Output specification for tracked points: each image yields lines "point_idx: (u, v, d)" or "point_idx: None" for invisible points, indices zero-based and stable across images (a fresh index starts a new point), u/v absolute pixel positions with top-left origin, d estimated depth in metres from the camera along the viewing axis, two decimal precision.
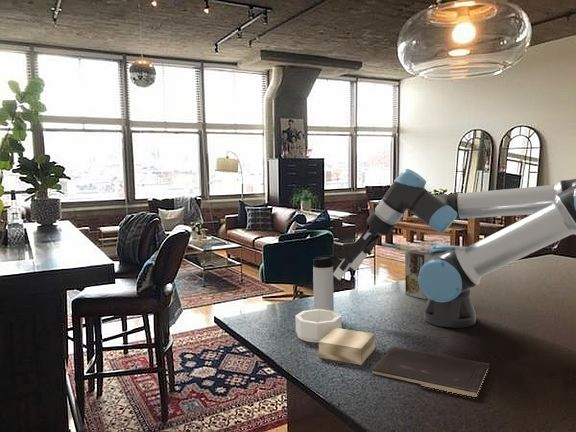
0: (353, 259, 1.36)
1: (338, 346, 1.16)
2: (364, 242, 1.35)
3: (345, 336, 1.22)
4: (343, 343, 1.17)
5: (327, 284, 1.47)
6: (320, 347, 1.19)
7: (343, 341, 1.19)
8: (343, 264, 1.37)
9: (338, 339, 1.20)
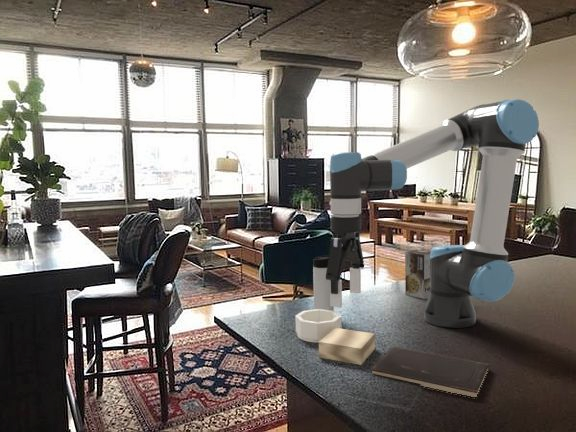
0: (338, 274, 1.12)
1: (338, 346, 1.16)
2: (338, 249, 1.12)
3: (345, 336, 1.22)
4: (343, 343, 1.17)
5: (327, 284, 1.47)
6: (320, 347, 1.19)
7: (343, 341, 1.19)
8: (332, 286, 1.12)
9: (338, 339, 1.20)
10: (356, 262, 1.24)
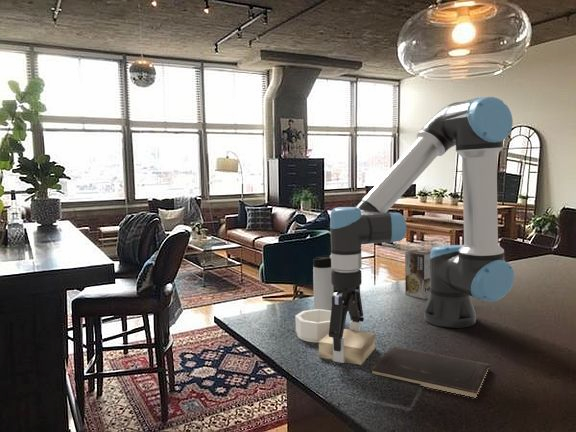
0: (341, 332, 1.14)
1: None
2: (339, 307, 1.14)
3: (345, 336, 1.22)
4: None
5: (327, 284, 1.47)
6: (320, 347, 1.19)
7: None
8: (335, 344, 1.15)
9: None
10: (356, 315, 1.25)
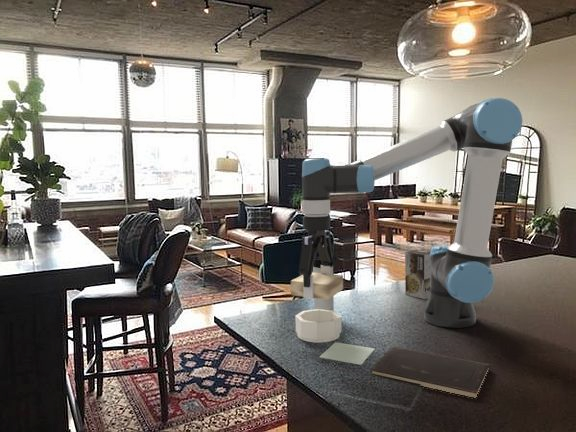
0: (310, 270, 1.26)
1: None
2: (308, 247, 1.26)
3: (315, 277, 1.34)
4: None
5: None
6: (292, 286, 1.31)
7: None
8: (305, 280, 1.27)
9: None
10: (326, 259, 1.37)
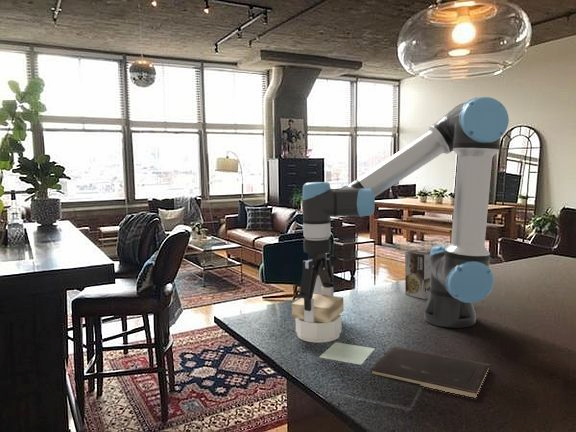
0: (311, 293, 1.27)
1: None
2: (309, 271, 1.26)
3: (316, 299, 1.34)
4: None
5: None
6: (293, 308, 1.32)
7: (314, 303, 1.31)
8: (305, 304, 1.27)
9: None
10: (326, 281, 1.38)
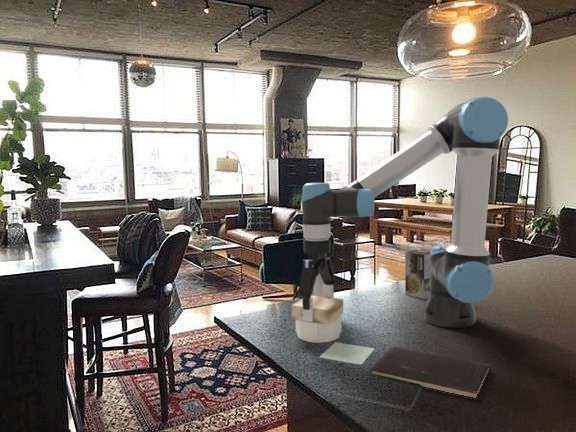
0: (309, 292, 1.26)
1: None
2: (308, 270, 1.26)
3: (316, 301, 1.34)
4: (313, 306, 1.30)
5: None
6: (292, 310, 1.31)
7: (313, 305, 1.31)
8: (304, 303, 1.27)
9: None
10: (328, 279, 1.38)
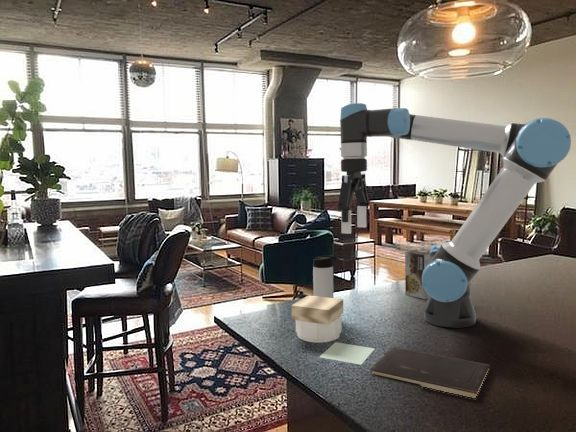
0: (348, 205, 1.33)
1: (308, 308, 1.29)
2: (347, 184, 1.33)
3: (316, 301, 1.34)
4: (313, 306, 1.30)
5: (327, 284, 1.47)
6: (292, 310, 1.31)
7: (313, 305, 1.31)
8: (343, 216, 1.34)
9: (309, 303, 1.33)
10: (362, 200, 1.46)
